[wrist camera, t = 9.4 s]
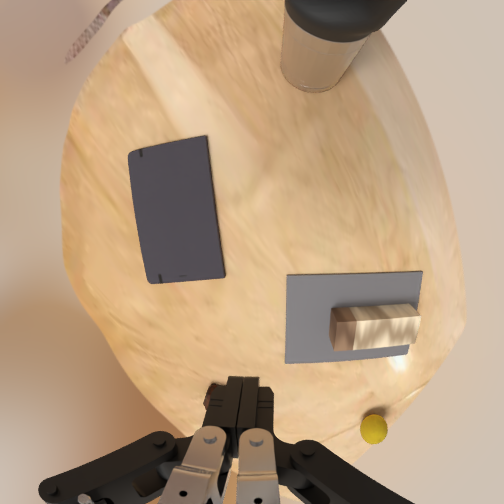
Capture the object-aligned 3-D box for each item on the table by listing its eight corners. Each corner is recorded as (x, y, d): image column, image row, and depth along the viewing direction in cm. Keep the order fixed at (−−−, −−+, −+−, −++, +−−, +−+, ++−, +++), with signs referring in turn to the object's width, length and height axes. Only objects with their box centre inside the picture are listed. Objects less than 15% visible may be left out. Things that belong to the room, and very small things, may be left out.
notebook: (225, 275, 45) (207, 137, 41) (224, 278, 44) (205, 135, 39) (151, 281, 47) (131, 153, 42) (148, 284, 45) (127, 152, 40)
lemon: (352, 423, 51) (359, 450, 43) (365, 405, 50) (374, 432, 42) (373, 425, 51) (382, 451, 43) (386, 408, 50) (397, 434, 42)
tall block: (337, 322, 40) (421, 315, 39) (330, 308, 45) (408, 303, 44) (333, 351, 41) (415, 343, 40) (328, 335, 46) (404, 329, 45)
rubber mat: (286, 274, 44) (286, 275, 44) (421, 271, 43) (422, 271, 42) (284, 362, 48) (285, 363, 47) (406, 353, 46) (407, 354, 46)
